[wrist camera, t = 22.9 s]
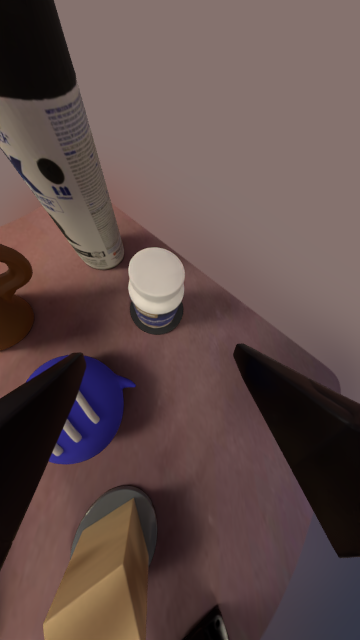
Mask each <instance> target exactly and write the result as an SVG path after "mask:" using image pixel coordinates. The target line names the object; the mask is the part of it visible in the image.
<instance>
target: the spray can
mask: <svg viewBox="0 0 360 640" xmlns="http://www.w3.org/2000/svg"><path fill="white" fill-rule="evenodd" d="M0 148H1V150H2V151H3V152H4V153H5V155H6V156H7V158H8V159H9V160H10V162H11V163H12V164H13V166H14V167H15V168H16V170H17V171H18V173H19V174H20V175H21V177H22V178H23V179H24V181H25V182H26V184H27V185H28V186H29V188H30V189H31V190H32V192H33V193H34V195H35V196H36V197H37V199H38V200H39V201H40V203H41V204H42V206H43V207H44V208H45V210H46V211H47V212H48V214H49V215H50V216H51V218H52V219H53V221H54V222H55V223H56V225H57V226H58V227H59V229H60V230H61V232H62V233H63V234H64V236H65V237H66V238H67V240H68V241H69V242H70V244H71V245H72V247H73V248H74V249H75V251H76V252H77V253H78V255H79V256H80V257H81V259H82V260H83V261H84V262H85V263H86V264H87V265H89V266H90V267H92V268H95V269H100V270H106V269H111V268H114V267H115V266H117V265H118V264H119V263H120V262H121V261H122V259H123V256H124V247H123V244H122V240H121V237H120V233H119V229H118V226H117V222H116V219H115V215H114V212H113V208H112V204H111V201H110V198H109V194H108V190H107V187H106V183H105V180H104V176H103V173H102V169H101V165H100V162H99V158H98V155H97V151H96V148H95V144H94V141H93V137H92V133H91V130H90V126H89V123H88V119H87V116H86V112H85V108H84V105H83V101H82V98H81V94H80V91H79V87H78V84H77V80H76V74H75V71H74V68H73V65H72V61H71V58H70V54H69V51H68V47H67V44H66V41H65V37H64V34H63V31H62V27H61V24H60V20H59V17H58V13H57V10H56V6H55V3H54V0H0Z"/></svg>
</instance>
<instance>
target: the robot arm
mask: <svg viewBox="0 0 360 640" xmlns="http://www.w3.org/2000/svg"><path fill="white" fill-rule="evenodd" d="M233 356H234V359H235V361H236V364H237V366H238V369H239V371H240V373H241V376H242V378H243V380H244V382H245V384H246V386H247V388H248V390H249V391H250V393H251V395H252V397H253V399H254V401H255V403H256V404H257V406H258V408H259V410H260V412H261V414H262V416H263V417H264V419H265V421H266V423H267V425H268V427H269V429H270V431H271V432H272V434H273V436H274V438H275V440H276V442H277V444H278V445H279V447H280V449H281V451H282V453H283V455H284V457H285V459H286V460H287V462H288V464H289V466H290V468H291V469H292V472H293V474H294V476H295V477H296V479H297V481H298V483H299V485H300V487H301V489H302V490H303V492H304V494H305V496H306V498H307V500H308V502H309V504H310V505H311V507H312V509H313V511H314V513H315V514H316V517H317V519H318V520H319V522H320V524H321V526H322V528H323V530H324V531H325V533H326V535H327V537H328V539H329V541H330V543H331V545H332V546H333V548H334V550H335V552H336V553H337V555H338V557H339V558H350V557H360V404H359V403H357V402H355V401H353V400H351V399H349V398H347V397H345V396H343V395H341V394H339V393H337V392H335V391H333V390H331V389H329V388H327V387H325V386H323V385H321V384H319V383H317V382H315V381H313V380H311V379H308V377H306V376H304V375H302V374H300V373H298V372H296V371H294V370H292V369H291V368H289V367H287V366H285V365H283V364H281V363H279V362H277V361H275V360H274V359H272V358H270V357H268V356H266V355H264V354H262V353H260V352H258V351H257V350H255V349H253V348H251V347H249V346H247V345H245V344H237V345H236V347H235V350H234V353H233ZM85 370H86V361H85V359H84V356H83V354H82V353H72V354H70V355H69V356H67V357H65V358H64V359H62V360H61V361H59V362H58V363H56V364H54V365H53V366H51V367H50V368H48V369H46V370H45V371H43V372H42V373H40V374H39V375H37V376H35V377H34V378H32V379H31V380H29V381H27V382H26V383H24V384H23V385H21V386H19V387H18V388H16V389H15V390H13V391H12V392H10V393H8V394H7V395H5V396H4V397H2V398H0V570H1V568H2V566H3V564H4V561H5V559H6V557H7V555H8V552H9V550H10V548H11V545H12V541H13V540H14V538H15V536H16V534H17V531H18V529H19V527H20V525H21V522H22V520H23V518H24V516H25V513H26V511H27V509H28V507H29V504H30V502H31V500H32V497H33V495H34V493H35V491H36V488H37V486H38V484H39V482H40V479H41V477H42V475H43V473H44V470H45V468H46V466H47V463H48V461H49V459H50V457H51V454H52V452H53V450H54V448H55V445H56V443H57V441H58V439H59V436H60V434H61V432H62V430H63V427H64V425H65V423H66V420H67V418H68V416H69V414H70V411H71V409H72V407H73V405H74V402H75V400H76V398H77V395H78V392H79V389H80V386H81V383H82V380H83V376H84V373H85ZM185 640H229V637H228V634H227V631H226V628H225V625H224V622H223V618H222V615H221V612H220V610H219V609H214V610H213V611H212V612H211V613H210V614H209V615H208V616H207V617H206V618H205V619H204V620H203V621H202V622H201V623H200V624H199V625H198V626H197V627H196V628H195V629H194V630H193V631H192V632H191V633H190V634H189V635H188V636H187V638H186V639H185Z"/></svg>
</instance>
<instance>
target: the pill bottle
mask: <svg viewBox="0 0 360 640" xmlns="http://www.w3.org/2000/svg"><path fill="white" fill-rule="evenodd" d="M128 272H129V277H130V280H129V286H128V289H129V295H130V298H131V300H132V303H133V305H134V308H135V310H136V313H137V316H138V318H139V319H140V320H141V322H142V323H144V324H145V325H147V326H149V327H152V328H160V327H164V326H166V325H168V324H169V323H170V322H171V321H172V319H173V318H174V316H175V314H176V312H177V309H178V307H179V305H180V303H181V301H182V298H183V295H184V284H183V282H184V279H185V271H184V267H183V264H182V263H181V261H180V260H179V258H178V257H177V256H176V255H174V254H173V253H172V252H170V251H168V250H166V249H162V248H156V247H154V248H146V249H143V250H141V251H139V252H138V253H136V254H135V255H134V256H133V258H132V259H131V261H130V263H129V269H128Z"/></svg>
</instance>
